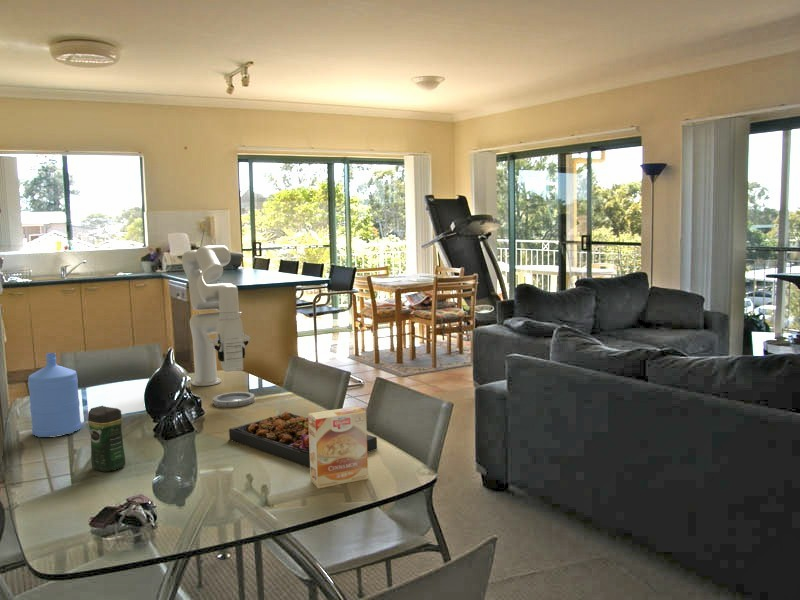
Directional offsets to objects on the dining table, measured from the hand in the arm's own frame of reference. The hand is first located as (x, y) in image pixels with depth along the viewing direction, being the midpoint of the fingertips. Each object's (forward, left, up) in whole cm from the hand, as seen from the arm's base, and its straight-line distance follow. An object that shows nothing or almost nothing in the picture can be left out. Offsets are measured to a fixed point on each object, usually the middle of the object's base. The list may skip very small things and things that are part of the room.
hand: (231, 359), depth 283 cm
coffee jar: (+42, -63, -18) cm, 78 cm away
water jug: (-9, -64, -18) cm, 67 cm away
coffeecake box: (+99, -19, -18) cm, 102 cm away
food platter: (+65, -10, -18) cm, 68 cm away
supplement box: (0, 0, -4) cm, 4 cm away
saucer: (0, 0, -18) cm, 18 cm away
